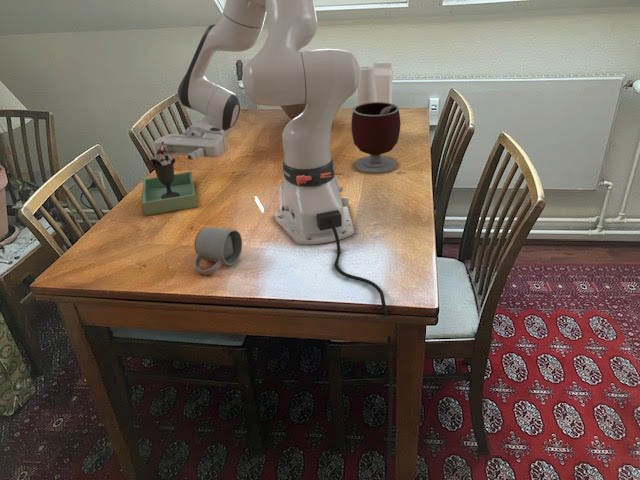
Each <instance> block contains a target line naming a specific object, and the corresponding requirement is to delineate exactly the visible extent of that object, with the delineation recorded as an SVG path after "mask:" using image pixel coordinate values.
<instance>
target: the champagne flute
mask: <svg viewBox="0 0 640 480" xmlns="http://www.w3.org/2000/svg"><path fill="white" fill-rule="evenodd" d="M359 68H360V81H359V85H358V87H357V89H356V95H355V96H356V97H355V106H357V105H360V104H364V103H370V102H377V95H376V84H375V73H374V66H372V65H362V66H359Z"/></svg>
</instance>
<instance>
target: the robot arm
mask: <svg viewBox="0 0 640 480" xmlns="http://www.w3.org/2000/svg"><path fill="white" fill-rule="evenodd" d="M265 20H267V36H266V40H265V42H264V44H263V46H262V48H261V49H260V50H259V51H258V52H257V53H256V54H255V55H254V56H253V57H252V58H251V59H249V60H248V61H247V63H246V65H245V67H244V70H243V72H242V86H243V90H244V92H245V94H246V96H247V98H248V99H249V100H250V101H251V102H252V103H253V104H254V105H257V106H258V105H259V106H267V107H281V106H284V105H294V104H303V103H304V104H306V107H305V109H304V111H303V112H302V113H301V114H300V115H299V116H297V117H296V118H294V119H293V120H291V119H290V120H289V122H288V123H287V124H286V125H285V126H284V128H283V130H282V133H281V139H282V149H283V157H284V158H283V161H282V172H283V177H284V180H283V181H282V183H281V184H280V185H279V186H278V194H279V195H278V197H279V211H277V212H276V213H275V214H274V221H275V222H276V223H277V224H278V225H279V226H280V227H281V228H282V229H283V230H284V231H285V233H286V234H288V236H289V237H291V239H293V241H294V242H295V243H296V244H298V245H308V246H309V245H320V244H326V243H332V242H335V243H336V258H335V260H334V268H335V270H336V271H337V272H338V273H339V274H340V275H342V276H343V277H346V278H348V279H351V280H355V281H358V282H362V283H365V284H368V285H369V286H371V287H372V288H374V289H375V290H376V291H377V292H378V294H379V297H380V303H381V308H382V313H383V316H384V317H388V316H389V312H388V308H387V304H386V299H385V298H386V297H385V294H384V291H383V290H382V289H381V288H380V286H379V285H378V284H376V283H375V282H373V281H371V280H370V279H367V278H364V277H361V276H356V275H353V274H349V273H347V272H345V271H343V270H342V269H341V268H340V266H339V262H340V261H339V260H340V257H341V251H342V250H341V244H340V240H343V239H346V238H349V237H350V236H352V235H354V234H355V228H354V224H353V221H352V217H351V213H350V210H349V197H348V196H341V193H343V192H344V189H343V186H341V185H340V186H339V181H338V178H339V177H338V176H337V175H335V165H334V164H335V163H334V161H333V158H332V156H331V155H332V154H331V153H332V151H331V149H332V148H331V142H332V141H331V137H332V126H333V123H334V120H335V118H336V116H337V113H338V112H339V110H340V108H341V107H342V106H343V104H345V102H346V101H347V100H348V99H349V98H350V97H351V96H353V95H354V93H355V92H357V87H358V85H359V81H360V68H359V67H360V64H359V62H358V60H357V58H356V56H355V55H354V54H353V53H352V52H351V51H349V50H342V49H334V48H324V49H323V48H321V49H311V50H302V51H300V50H301V49H303V48H304V47H306V46H307V45H309V44H310V43H311V42H312V40H313V39H314V38H315V36H316V34H317V32H318V26H319V25H318V24H319V23H318V17H317V13H316V7H315V2H314V0H226V1H225V4H224V7H223V11H222V14H221V17H220V19H219V21H217V23H216V24H215V23H214V24H210V25H209V26H208V27H207V28H206V30H205V31H204V33H203V35H202V37H201V39H200V41H199V43H198V45H197V47H196V50H195V52H194V55H193V57H192V59H191V62H190V64H189V65H188V68H187V70H186V73H185V74H184V76H183V77H182V80H181V81H180V84H179V85H178V88H177V96H178V98H179V101H180V103H181V105H182V106H183V107H185V108H188V109H190V110H193V111H196V112H198V113H200V114H202V115H204V117H203V118H202V119H201V120H199V121H196V122H195V123H193V124H192V125H190V126H189V127H187V128H186V129H185V131H184V134H183V133H182V134H181V133H169V134H165V135H163V136H160V137H159V138H156V139H155V140H154V142H153V144H154V150H155V152H156V153H157V151H158V149H160V148H161V150H162V151H163V150H164V148H165V150H167V153H168V154H169V155H178V156H186V157H187V160H189V161H194V160H195V159H199V158H212V159H213V158H218V157H220V156H222V155H223V154H224V153H226V152H227V151H228V141H227V138H228V137H229V136H230V135H231V133H232V132H233V130H234V128H235V125H236V123H237V121H238V119H239V116H240V113H241V105H240V100H239V98H238V97H239V96H237V94H236V93H234V92H232V91H230V90H228V89H226V88H225V87H222V86H220V85H218V84H217V83H214V82H212V81H211V80H209V79H208V78H207V77H206V72H207V70H208V67H209V66H210V63H211V61H212V59H213V56H214V54H215V53H216V52H230V53H231V52H232V53H238V52H245V51H248V50H250V49H252V48H253V47H254V46H256V44H257V43H258V41H259V39H260V36H261V33H262V30H263V27H264V25H265V24H264V23H265ZM162 142H164V143H162ZM163 145H164V147H163ZM161 146H162V147H161ZM254 198H255V199H254V200H255V202H256V204H257V205H258V207H259V210H260V211H261V213H264V207H263V206H262V204H261V202H260V200H259V198H258V197H257V196H254ZM386 341H387V353H388V355H387V357H388V427H387V428H388V430H387V469H386V471H387V474H386V475H387V477H388V478H390V477H391V476H392V475H391V474H392V473H391V472H392V469H391V468H392V462H391V461H392V436H393V435H392V433H393V431H392V430H393V403H394V402H393V399H394V372H393V371H394V370H393V368H394V367H393V347H392V335H390V334H389V335H387V336H386Z"/></svg>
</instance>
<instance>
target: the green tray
mask: <svg viewBox="0 0 640 480" xmlns="http://www.w3.org/2000/svg"><path fill="white" fill-rule="evenodd" d="M170 187H171V190H172V192H178V193H179V197H173V198H166V199H162V198H161V196H162V195H163V194H165V193H167V188H166V185H164V184H162V183H160V181H159V179H158V177H157V176H154V177H147V178H143V179H142V201H141V202H142V203H141V205H142V208H143V212H144V216H150V215H156V214H157V215H158V214H162V213H169V212H174V211H175V212H176V211H181V210H186V209H191V208H198V201H197V196H196V195H197V194H196V191H195V189H196V188H195V184H194V179H193V173H192V171H188V172H181V173H174V181H173V182H172V183H171V184H170Z"/></svg>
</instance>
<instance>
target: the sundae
mask: <svg viewBox="0 0 640 480" xmlns="http://www.w3.org/2000/svg"><path fill="white" fill-rule="evenodd" d="M162 143H164V142H162ZM161 147H162V146H161ZM163 147H164V145H163ZM175 163H176V158H174V157H173V156H171V154H168V153H167V150H165V148H164V150H163V151H162V150H161V148H160V149H158V151H157V152H156V153H154V156H153V158H151V159H150V162H149V165H150V166H151V168H153V169H154V171H155V175H156V177H158V179H159V181H160V183H162V184H164V185H166V188H167V193H165V194H163V195H162V196H161V198H162V199H166V198H173V197H179V193H178V192H172V190H171V187H170V184H171V183H172V182H173V181H174V174H175V166H174V165H175Z"/></svg>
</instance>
